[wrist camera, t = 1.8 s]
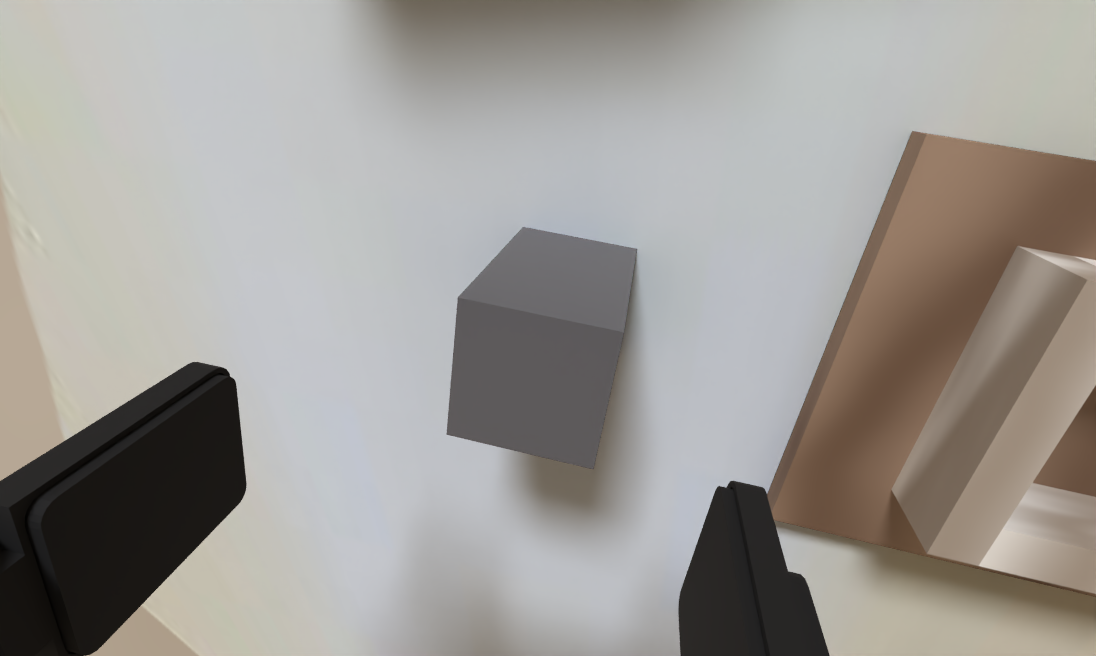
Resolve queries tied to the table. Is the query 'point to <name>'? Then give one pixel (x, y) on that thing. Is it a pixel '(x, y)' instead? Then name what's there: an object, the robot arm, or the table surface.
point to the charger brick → (541, 346)
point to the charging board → (963, 371)
